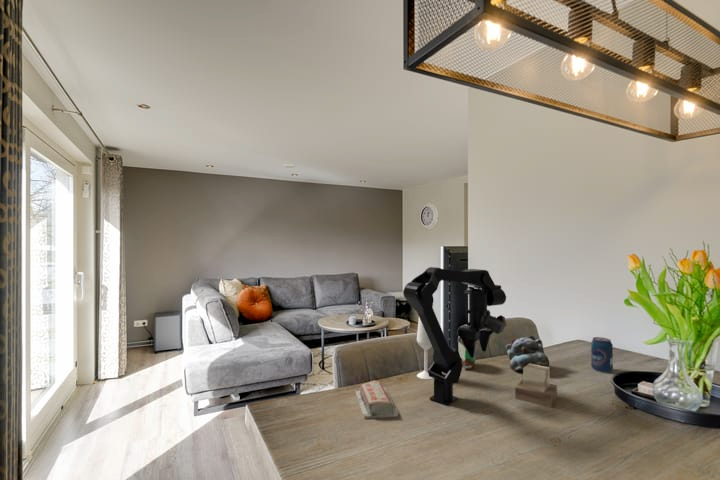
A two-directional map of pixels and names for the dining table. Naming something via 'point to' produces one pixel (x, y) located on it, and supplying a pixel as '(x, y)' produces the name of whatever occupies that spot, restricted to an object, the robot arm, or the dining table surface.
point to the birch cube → (536, 377)
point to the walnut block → (536, 395)
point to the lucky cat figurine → (526, 353)
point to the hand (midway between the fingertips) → (478, 354)
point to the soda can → (602, 355)
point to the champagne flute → (426, 345)
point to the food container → (466, 356)
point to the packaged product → (375, 401)
